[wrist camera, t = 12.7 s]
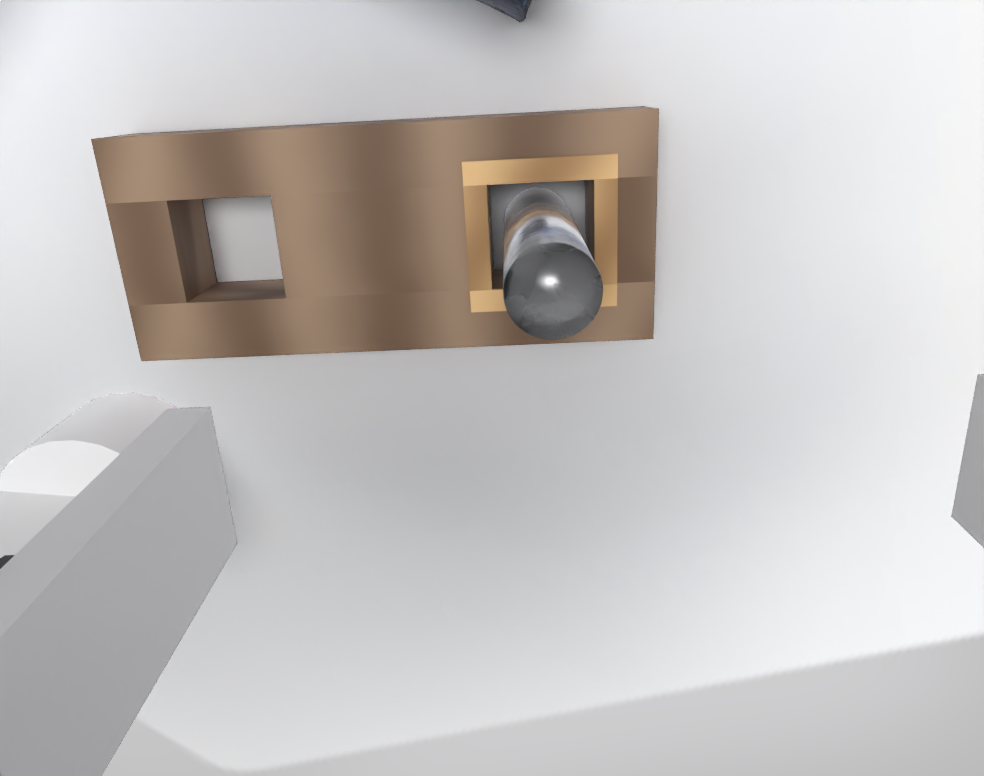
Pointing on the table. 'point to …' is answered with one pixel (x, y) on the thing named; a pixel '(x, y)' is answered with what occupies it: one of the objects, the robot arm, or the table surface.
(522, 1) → the vhs cassette tape
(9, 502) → the cylinder with rectangular tab
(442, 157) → the mount block
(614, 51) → the table surface
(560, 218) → the lock pin
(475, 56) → the table surface
